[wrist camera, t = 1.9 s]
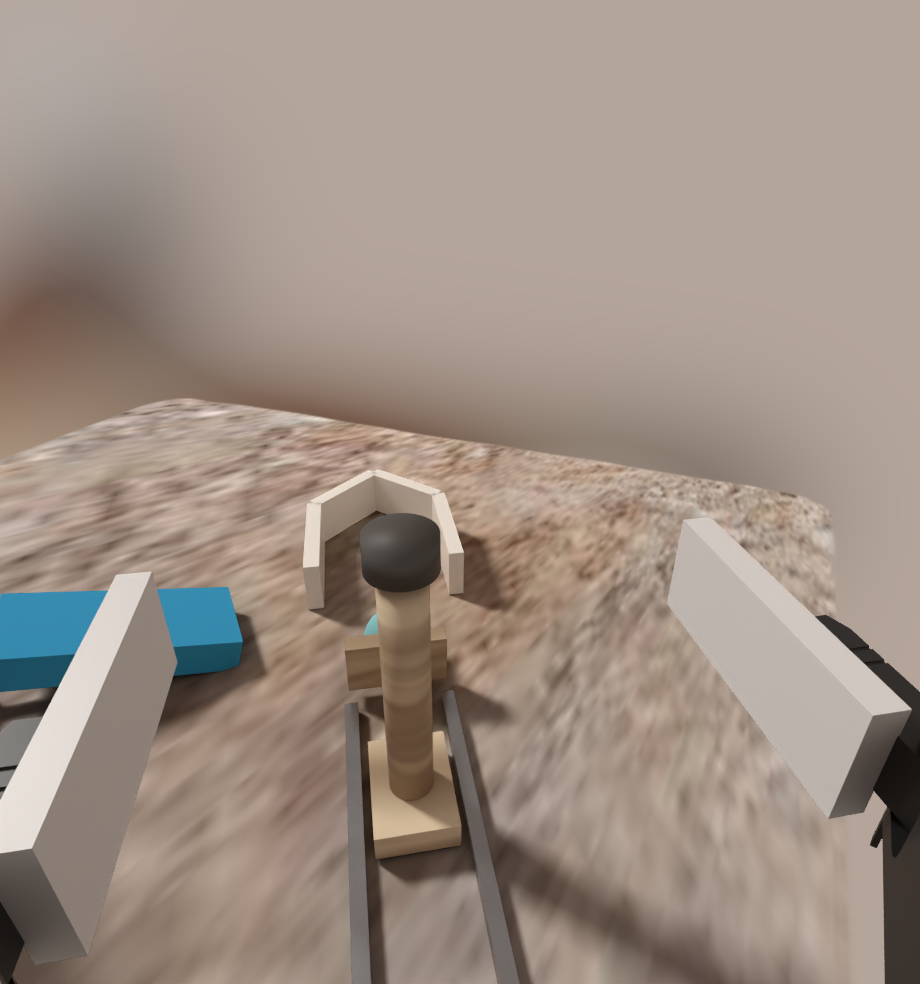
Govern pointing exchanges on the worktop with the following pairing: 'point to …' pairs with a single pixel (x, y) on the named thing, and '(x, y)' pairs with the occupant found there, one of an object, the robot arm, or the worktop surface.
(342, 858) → the worktop surface
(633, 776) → the worktop surface
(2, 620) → the blue long block
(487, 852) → the track
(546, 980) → the worktop surface
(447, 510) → the pocket
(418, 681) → the plunger
